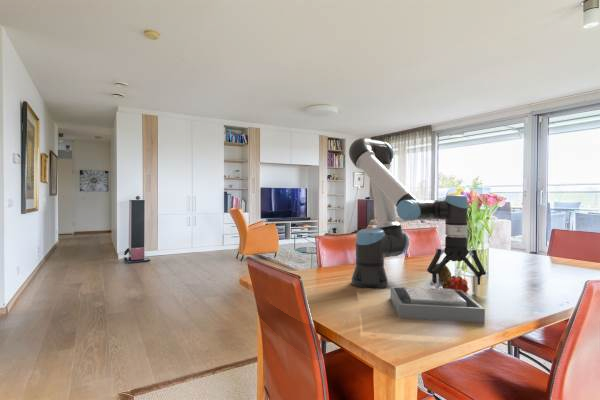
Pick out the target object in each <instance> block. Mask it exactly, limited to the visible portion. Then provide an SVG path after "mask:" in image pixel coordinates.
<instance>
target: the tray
mask: <svg viewBox="0 0 600 400" xmlns="http://www.w3.org/2000/svg"><path fill="white" fill-rule="evenodd" d="M454 291H455V292H456V293H457V294H459V295H460V296H461V297H462V298H463V299H464V300H465V301H466V307H458V306H439V305H419V304H405V303H404V301H403V292H404V286H402V287H399V286H390V296H389V297H390V300H391V301H390V302H392V305H393V307H394V310H395V313H396V315H397V317H398V319H410V320H427V321H428V320H429V321H443V322H444V321H445V322H460V323H461V322H464V323H477V324H478V323H479V324H481V323H484V324H485V318H486V317H485V316H486V314H485V311H486V309H485V307H483V306H482V305H481V304H479V302H477V301H476V300H475V299H473V298H472V297H471V296H469V295H468V293H465V292H463V291H462V290H454Z"/></svg>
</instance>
